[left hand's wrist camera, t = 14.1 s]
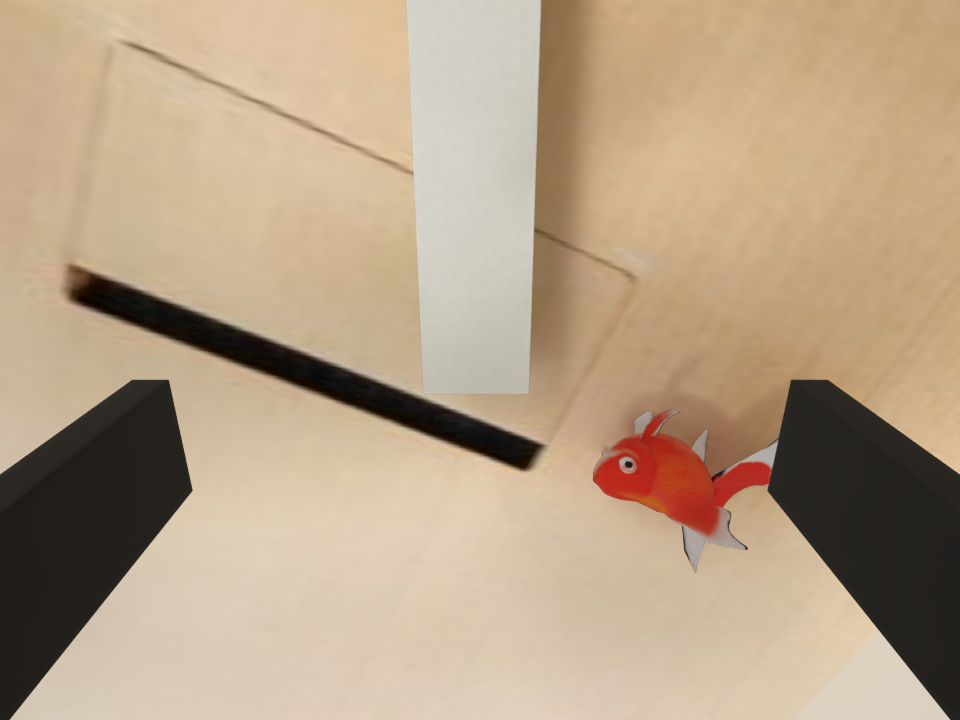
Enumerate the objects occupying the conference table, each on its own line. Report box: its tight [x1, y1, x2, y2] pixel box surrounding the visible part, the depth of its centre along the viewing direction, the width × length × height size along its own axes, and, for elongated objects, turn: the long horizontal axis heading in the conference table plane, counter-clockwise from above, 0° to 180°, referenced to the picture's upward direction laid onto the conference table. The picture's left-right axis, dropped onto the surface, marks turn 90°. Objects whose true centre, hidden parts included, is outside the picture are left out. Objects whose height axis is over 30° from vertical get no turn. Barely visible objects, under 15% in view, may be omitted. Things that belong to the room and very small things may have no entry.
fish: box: [593, 410, 779, 574], centre depth 36 cm, size 11×16×10 cm
